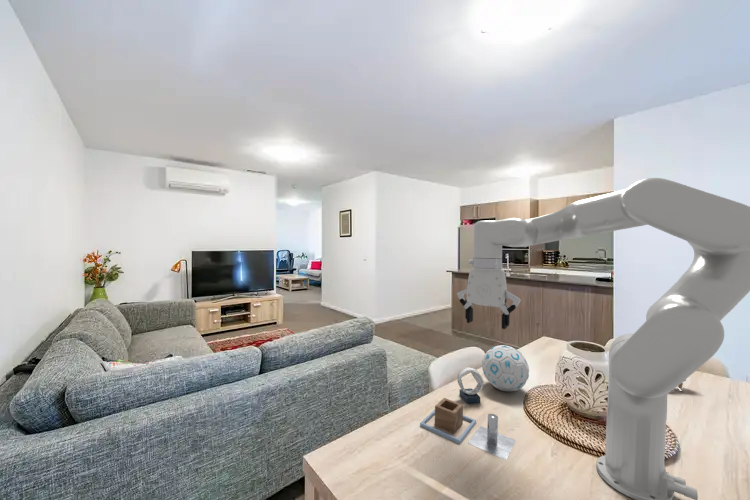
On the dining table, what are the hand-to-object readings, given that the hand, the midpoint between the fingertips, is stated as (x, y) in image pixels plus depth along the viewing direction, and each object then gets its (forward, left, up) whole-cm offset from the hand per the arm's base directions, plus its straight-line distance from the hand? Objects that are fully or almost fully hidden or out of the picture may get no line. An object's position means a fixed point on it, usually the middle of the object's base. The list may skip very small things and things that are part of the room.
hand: (486, 324), depth 84 cm
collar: (+6, +10, -27) cm, 30 cm away
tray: (+6, +10, -28) cm, 30 cm away
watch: (+7, -7, -28) cm, 30 cm away
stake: (-5, +9, -28) cm, 30 cm away
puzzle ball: (+1, -24, -28) cm, 37 cm away
